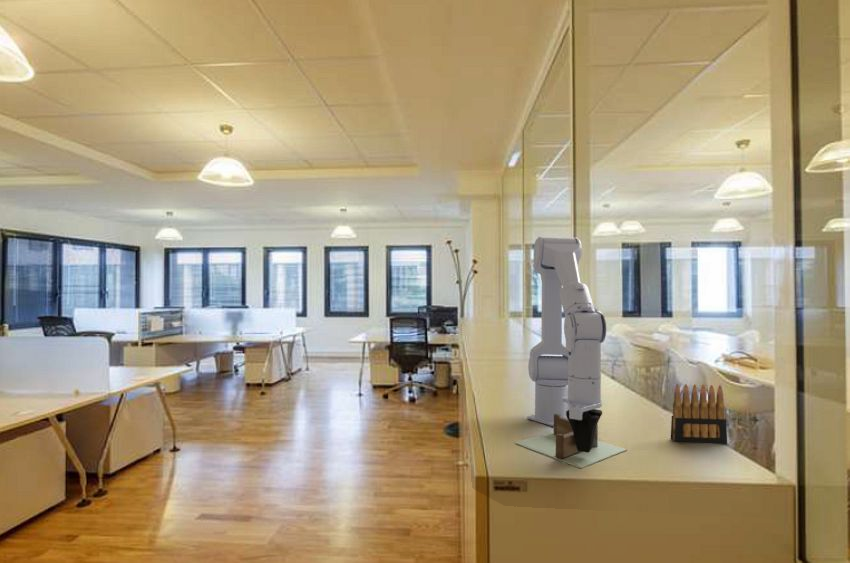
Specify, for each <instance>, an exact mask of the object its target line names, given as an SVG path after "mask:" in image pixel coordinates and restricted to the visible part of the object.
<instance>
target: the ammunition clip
mask: <svg viewBox="0 0 850 563" xmlns="http://www.w3.org/2000/svg"><path fill="white" fill-rule="evenodd" d="M689 390H690V389H689V386H688V384H687V383H686V384H684V387H683V391H682V392H681V388H680V386H679V384H678V383H676V384H675V388H674V392H673V394H674V395H673V402H672V415H671V423H670V440H671V441H672V442H674V443H676V442H677V443H679V444H680V443H681V444H683V443H684V444H706V445H707V444H709V445H711V444H712V445H727V444H728V433H727V432H728V431H727V430H728V428H727V419H726V417H725V416H726V413H725V412H726V406H725V403H724V402H725V401H724V400H725V399H724V391H723V387H722V386H721V384H720V385H718V387H717V392H716V393H715V389H714V386H713V384H710V386H709V389H708V392H707V389H706V387H705V385H704V384H702V385H701V386H700V391H699V393H698V387H697V386H696V384H693V386H692V388H691V397H690V391H689ZM681 393H682V396H681ZM707 393H708V394H707ZM698 394H699V395H698ZM681 397H682V398H681Z"/></svg>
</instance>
